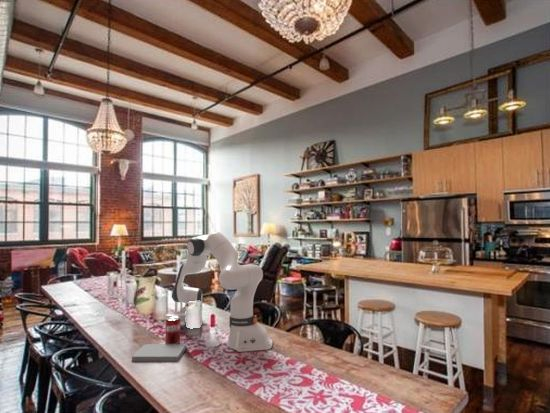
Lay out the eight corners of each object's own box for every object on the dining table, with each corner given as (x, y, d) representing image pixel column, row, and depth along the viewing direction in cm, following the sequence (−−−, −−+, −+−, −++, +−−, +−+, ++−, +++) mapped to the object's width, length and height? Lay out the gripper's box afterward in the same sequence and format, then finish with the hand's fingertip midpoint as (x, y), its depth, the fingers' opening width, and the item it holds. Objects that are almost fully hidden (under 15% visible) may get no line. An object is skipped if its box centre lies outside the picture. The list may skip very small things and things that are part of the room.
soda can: (164, 340, 165) (165, 316, 166) (179, 338, 168) (180, 315, 168) (165, 345, 159) (165, 321, 159) (180, 343, 161) (181, 319, 162)
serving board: (186, 348, 155) (186, 344, 155) (177, 361, 141) (177, 356, 141) (144, 348, 155) (144, 344, 155) (131, 361, 141) (132, 356, 141)
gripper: (169, 308, 190) (161, 315, 177) (204, 308, 190) (198, 315, 177) (169, 319, 190) (161, 327, 176) (204, 319, 190) (198, 327, 176)
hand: (180, 321), depth 176 cm, fingers open, 8 cm apart
